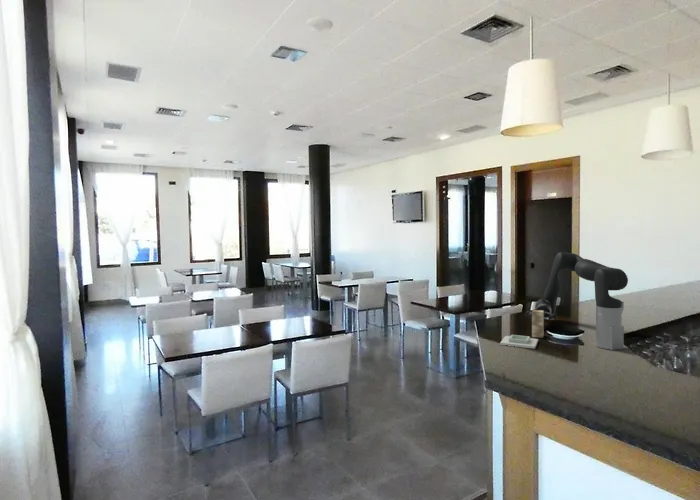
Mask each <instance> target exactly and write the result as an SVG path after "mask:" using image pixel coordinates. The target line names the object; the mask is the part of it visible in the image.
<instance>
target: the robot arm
mask: <svg viewBox="0 0 700 500" xmlns="http://www.w3.org/2000/svg"><path fill="white" fill-rule="evenodd" d="M560 271H566V272H575V274H576V275H577V276H578V277H579V278H581V279H583V280H586V281H589V282H594V298H595V346H596V347H597V348H600V349H605V350H611V351H615V350H616V351H617V350H624V342H625V340H624V338H625V334H624V333H625V332H624V331H625V329H624V326H623V325H622V322H623V321H622V319H623V318H622V317H623V315H622V314H623V312H622V302H623V301H622V302H621V300H620V299H618V298H615V297H612V296H611V295H610V294H609V291H621V290H624V289H625V288H626V287H627V285H628V284H629V278H628V275H627V274H626V272H625V271H624V270H623V269H621V268H615V267H612V266H611V267H610V266H608V265H607V266H606V265H604V264H602V263H600V262H596V261H594V260H591V259H587V258H584V257H582V256H580V255H578V254H576V253H574V252H573V253H572V252H565V251H563V252H562V251H560V252H557V253H556V255H555V257H554V259H553V263H552V267H551V271H550V274H549V275H550V276H549V280H548V284H547V286H546V288H545V290H544V293H543V298H539V299H538V300H536V303H535V309H534V310H543V311H544V321H547V320H548V321H552V320H553V319H554V320H557V319H558V316H557V315H558V314H557V313H558V312H557V302H558V298H559V295H560V293H561V291H562V283H561V281H560ZM525 317H526V318H529V319H530V320H532V311H531V310H527V311H525Z"/></svg>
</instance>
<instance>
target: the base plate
mask: <svg viewBox="0 0 700 500" xmlns="http://www.w3.org/2000/svg"><path fill="white" fill-rule="evenodd" d="M538 343H539V339H538V338H534V337H531V336H528V335H519V334H510V335H505V336H504V337H503V338H502V339H501V341H500V343H499V345H500V346H505V345H508V347H514V346H515V348H523V349H524V348H525V349H526V348H527V349H534V350H535V349H536V348H537V346H538Z"/></svg>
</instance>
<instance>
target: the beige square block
mask: <svg viewBox="0 0 700 500" xmlns="http://www.w3.org/2000/svg"><path fill="white" fill-rule="evenodd" d="M531 312H532V319H531V338H537V339H538V338H542V339H543V338H544V335H545V334H544V333H545V332H544V329H545V327H544V326H545V325H544V324H545V323H544V321H545V320H544V311H543V310H535V309H533V310H532V311H531Z"/></svg>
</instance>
